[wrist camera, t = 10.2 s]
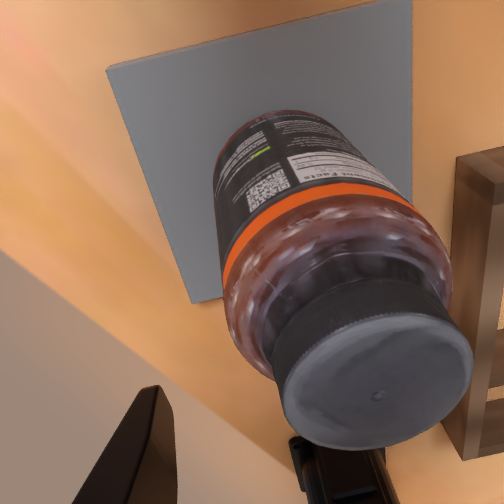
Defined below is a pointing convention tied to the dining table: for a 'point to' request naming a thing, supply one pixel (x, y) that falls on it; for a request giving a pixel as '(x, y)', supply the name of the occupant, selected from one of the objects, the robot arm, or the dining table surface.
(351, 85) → the mat
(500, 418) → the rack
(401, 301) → the supplement bottle
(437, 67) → the dining table surface
